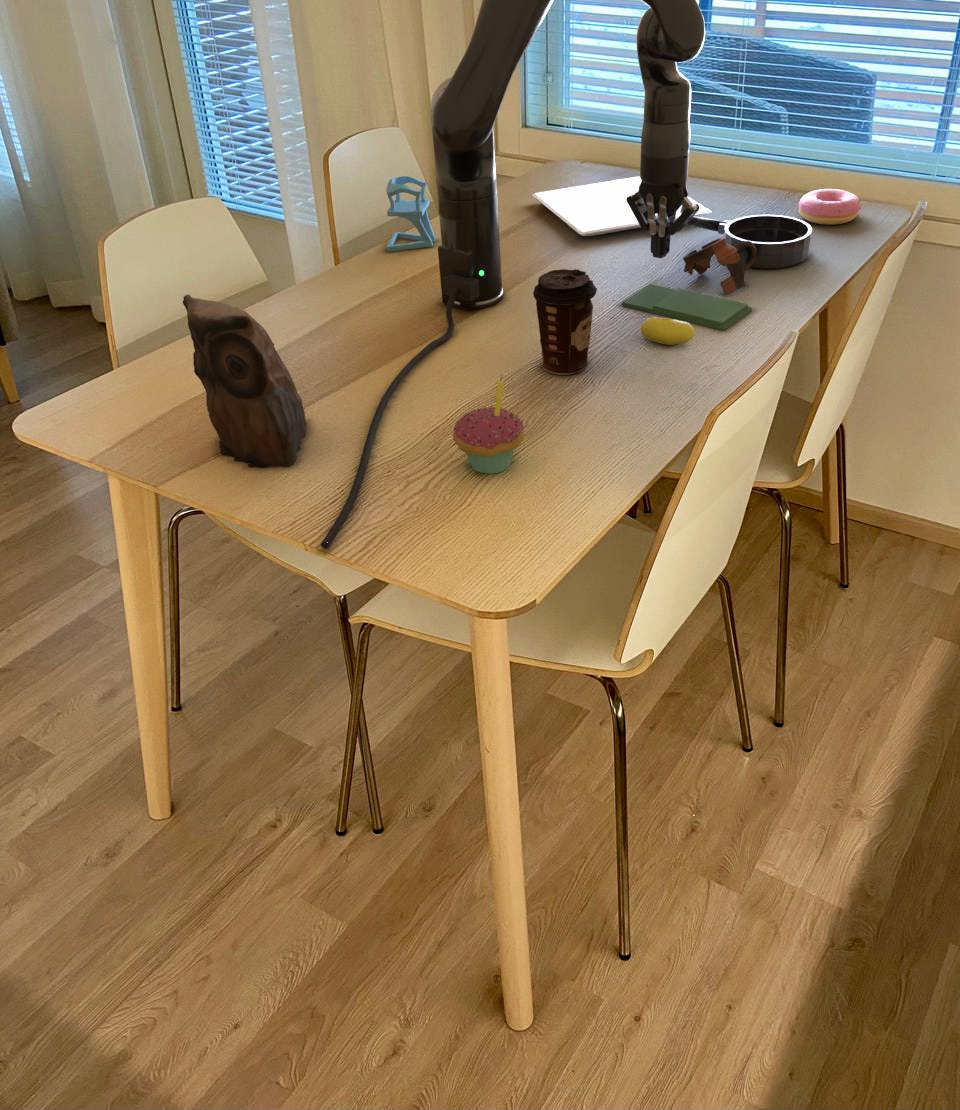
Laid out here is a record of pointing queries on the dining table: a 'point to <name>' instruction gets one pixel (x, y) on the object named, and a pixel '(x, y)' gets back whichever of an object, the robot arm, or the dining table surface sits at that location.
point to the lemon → (666, 330)
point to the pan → (771, 239)
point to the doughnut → (829, 206)
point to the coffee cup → (564, 319)
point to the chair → (410, 213)
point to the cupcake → (489, 436)
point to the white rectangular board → (599, 206)
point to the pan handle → (708, 224)
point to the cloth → (688, 306)
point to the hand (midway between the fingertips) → (659, 256)
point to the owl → (245, 385)
